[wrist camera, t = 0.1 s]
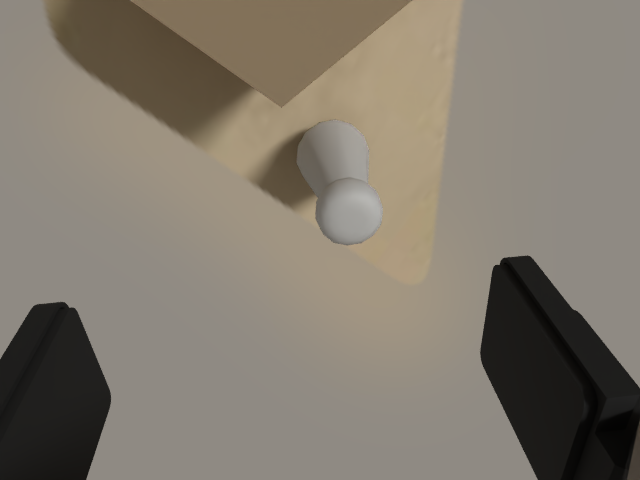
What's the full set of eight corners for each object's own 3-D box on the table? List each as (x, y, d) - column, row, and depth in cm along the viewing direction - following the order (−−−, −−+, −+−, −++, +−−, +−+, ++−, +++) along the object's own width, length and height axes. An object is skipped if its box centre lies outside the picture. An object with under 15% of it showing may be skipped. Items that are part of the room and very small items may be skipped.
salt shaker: (320, 188, 44) (337, 275, 33) (281, 138, 42) (285, 215, 31) (376, 151, 43) (413, 229, 32) (340, 97, 40) (366, 162, 29)
